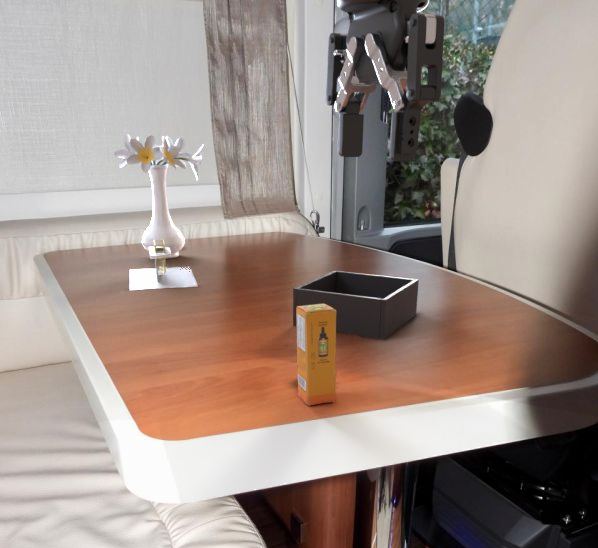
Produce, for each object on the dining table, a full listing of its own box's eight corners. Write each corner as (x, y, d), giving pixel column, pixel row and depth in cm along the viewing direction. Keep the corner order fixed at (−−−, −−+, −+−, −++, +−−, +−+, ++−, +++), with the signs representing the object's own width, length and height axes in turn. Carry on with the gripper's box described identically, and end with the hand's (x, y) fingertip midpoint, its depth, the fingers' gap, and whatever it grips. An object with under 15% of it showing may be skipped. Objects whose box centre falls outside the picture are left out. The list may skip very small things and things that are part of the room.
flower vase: (215, 258, 139) (209, 134, 129) (128, 264, 133) (115, 134, 123) (201, 248, 150) (195, 133, 140) (121, 253, 144) (108, 133, 134)
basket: (415, 324, 93) (418, 279, 90) (383, 350, 82) (385, 300, 80) (333, 313, 99) (334, 270, 96) (293, 335, 88) (292, 288, 85)
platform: (189, 266, 131) (187, 234, 128) (198, 286, 115) (195, 249, 112) (129, 269, 128) (126, 236, 126) (129, 290, 112) (125, 252, 110)
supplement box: (324, 391, 70) (326, 301, 66) (336, 403, 67) (338, 309, 63) (295, 394, 69) (295, 303, 65) (306, 407, 66) (306, 312, 62)
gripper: (483, -76, 46) (459, 162, 53) (376, -36, 58) (367, 155, 64) (397, -91, 43) (383, 164, 50) (302, -46, 55) (301, 156, 61)
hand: (374, 158), depth 57 cm, fingers open, 8 cm apart
